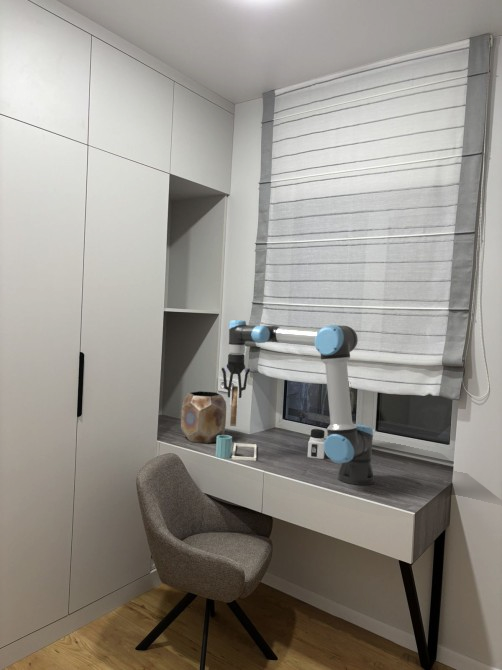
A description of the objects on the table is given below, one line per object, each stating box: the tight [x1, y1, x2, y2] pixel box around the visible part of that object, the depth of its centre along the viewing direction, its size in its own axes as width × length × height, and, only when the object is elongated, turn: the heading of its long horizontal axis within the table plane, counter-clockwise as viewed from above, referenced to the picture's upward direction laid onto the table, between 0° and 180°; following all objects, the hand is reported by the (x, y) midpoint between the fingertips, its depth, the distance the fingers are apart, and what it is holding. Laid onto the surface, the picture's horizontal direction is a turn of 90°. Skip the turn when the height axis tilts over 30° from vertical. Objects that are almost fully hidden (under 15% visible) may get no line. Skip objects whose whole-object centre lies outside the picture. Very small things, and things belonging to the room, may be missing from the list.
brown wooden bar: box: [229, 385, 239, 427], centre depth 237 cm, size 6×3×18 cm, turn 1°
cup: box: [215, 434, 233, 459], centre depth 236 cm, size 7×7×10 cm
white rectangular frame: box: [231, 442, 257, 462], centre depth 244 cm, size 24×11×2 cm, turn 179°
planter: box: [180, 390, 227, 444], centre depth 269 cm, size 22×24×24 cm
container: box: [307, 428, 326, 460], centre depth 249 cm, size 8×8×13 cm
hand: (234, 404), depth 238 cm, fingers closed on brown wooden bar, 2 cm apart
